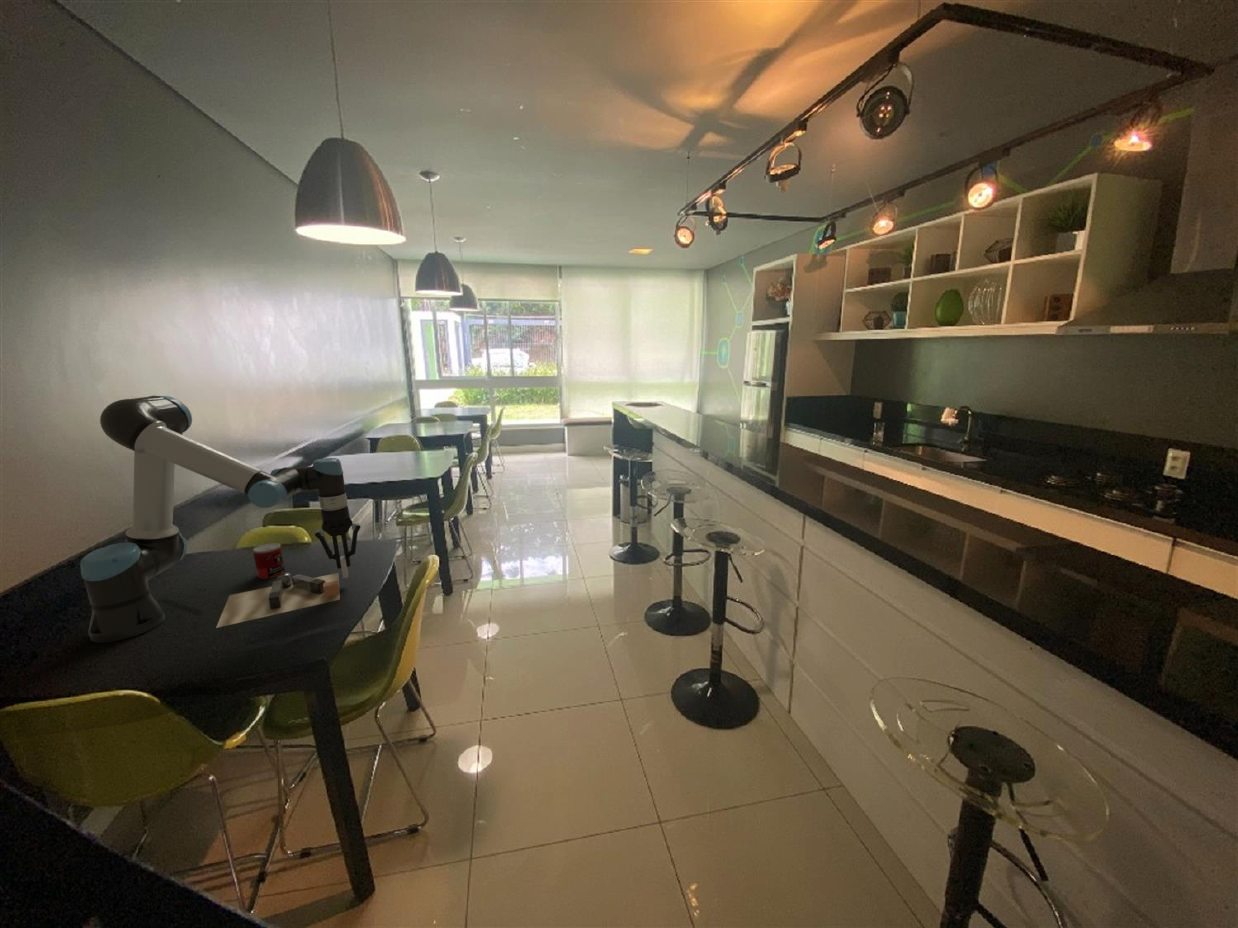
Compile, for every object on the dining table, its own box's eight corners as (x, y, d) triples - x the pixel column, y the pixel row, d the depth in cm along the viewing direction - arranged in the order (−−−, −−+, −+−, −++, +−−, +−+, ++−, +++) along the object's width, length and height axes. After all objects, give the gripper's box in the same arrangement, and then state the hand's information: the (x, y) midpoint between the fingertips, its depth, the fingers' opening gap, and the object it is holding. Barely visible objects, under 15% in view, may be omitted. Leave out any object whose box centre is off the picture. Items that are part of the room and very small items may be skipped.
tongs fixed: (276, 585, 159) (273, 574, 158) (292, 582, 161) (291, 571, 160) (270, 609, 144) (268, 597, 143) (289, 605, 146) (287, 593, 145)
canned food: (272, 582, 164) (266, 552, 161) (252, 580, 166) (246, 550, 163) (291, 572, 171) (286, 543, 169) (272, 571, 173) (266, 542, 170)
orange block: (324, 597, 151) (323, 587, 150) (324, 593, 153) (323, 583, 152) (339, 594, 153) (338, 583, 152) (339, 590, 155) (337, 580, 154)
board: (216, 631, 135) (216, 627, 135) (230, 598, 153) (229, 595, 153) (340, 602, 150) (339, 599, 149) (339, 575, 168) (338, 572, 168)
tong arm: (293, 587, 158) (291, 576, 157) (300, 583, 160) (298, 573, 159) (319, 594, 153) (317, 584, 152) (326, 591, 155) (325, 580, 154)
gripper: (309, 514, 146) (322, 586, 152) (358, 506, 153) (368, 575, 158) (310, 507, 153) (322, 576, 158) (357, 500, 159) (367, 567, 164)
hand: (345, 576), depth 158 cm, fingers closed
